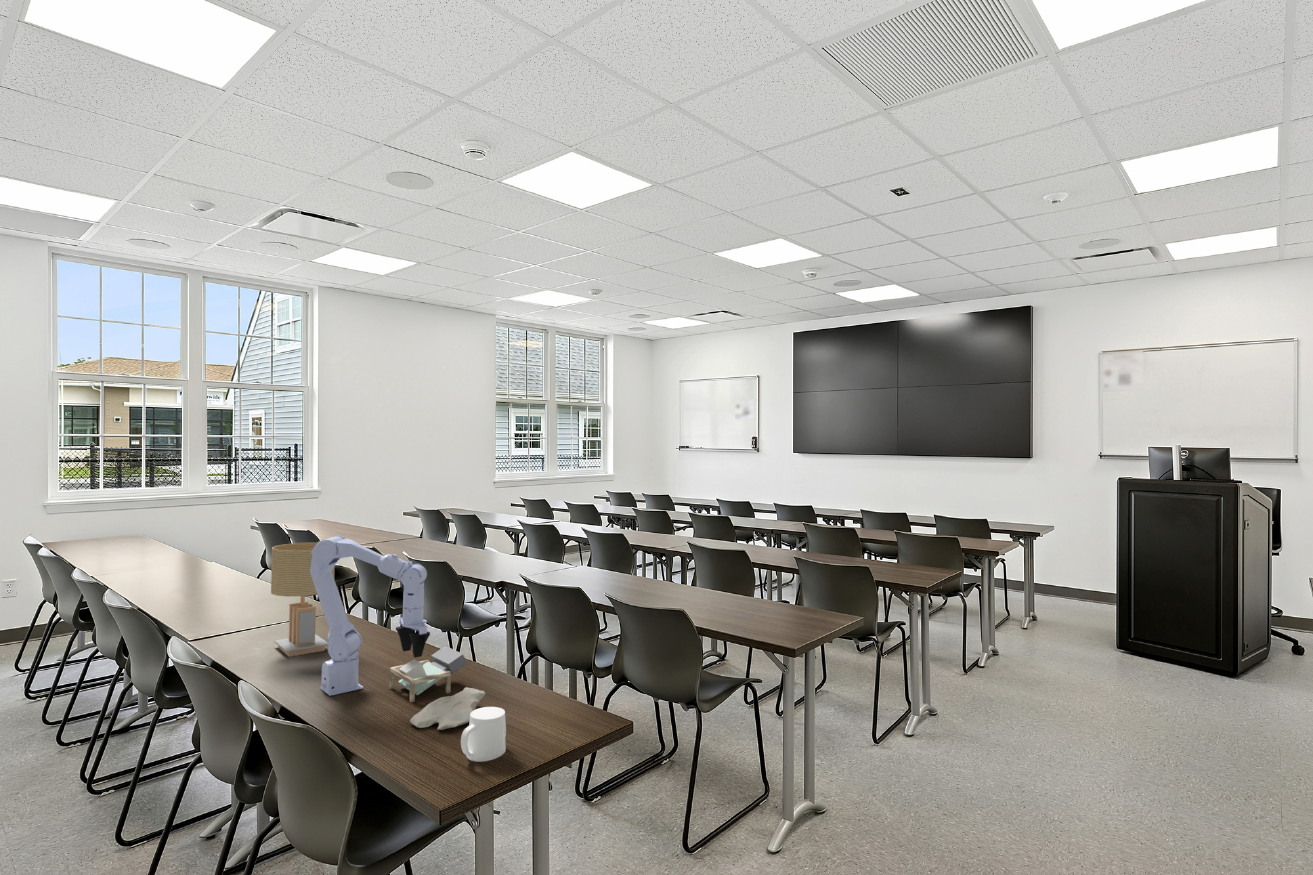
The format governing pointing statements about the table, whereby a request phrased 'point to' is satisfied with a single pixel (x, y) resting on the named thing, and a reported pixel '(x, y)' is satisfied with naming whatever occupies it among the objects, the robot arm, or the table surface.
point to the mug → (485, 734)
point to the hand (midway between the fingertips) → (412, 653)
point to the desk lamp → (296, 581)
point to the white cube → (413, 670)
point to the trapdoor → (439, 667)
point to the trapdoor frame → (417, 679)
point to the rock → (449, 710)
